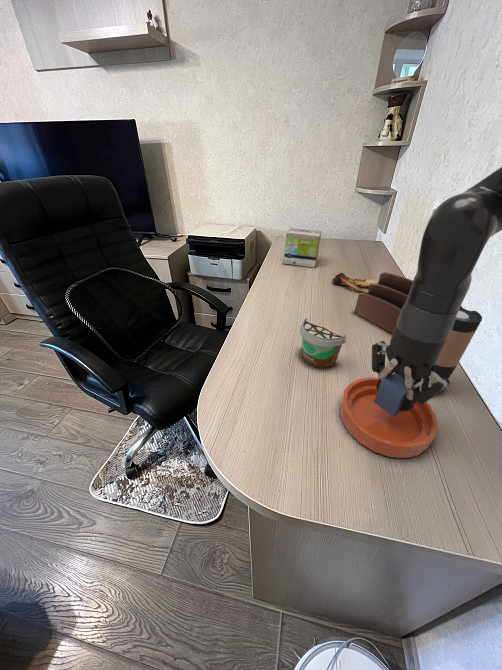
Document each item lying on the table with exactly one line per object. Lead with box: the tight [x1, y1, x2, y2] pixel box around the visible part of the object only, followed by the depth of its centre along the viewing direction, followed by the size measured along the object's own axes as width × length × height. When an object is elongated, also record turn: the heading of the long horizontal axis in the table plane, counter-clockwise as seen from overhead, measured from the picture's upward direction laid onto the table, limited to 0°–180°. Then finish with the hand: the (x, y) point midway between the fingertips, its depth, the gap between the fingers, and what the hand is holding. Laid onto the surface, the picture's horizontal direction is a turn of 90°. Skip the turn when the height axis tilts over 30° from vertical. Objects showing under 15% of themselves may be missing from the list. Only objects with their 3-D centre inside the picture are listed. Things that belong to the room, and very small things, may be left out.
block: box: [374, 373, 406, 417], centre depth 54 cm, size 4×4×6 cm
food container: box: [299, 317, 347, 369], centre depth 71 cm, size 12×6×10 cm, turn 47°
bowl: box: [339, 377, 439, 459], centre depth 57 cm, size 18×18×4 cm
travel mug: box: [421, 305, 483, 393], centre depth 62 cm, size 8×8×20 cm
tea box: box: [283, 227, 322, 268], centre depth 131 cm, size 15×10×15 cm, turn 73°
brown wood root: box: [331, 272, 379, 294], centre depth 111 cm, size 9×5×18 cm
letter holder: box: [353, 271, 414, 335], centre depth 86 cm, size 10×20×14 cm, turn 31°
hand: (392, 400), depth 55 cm, fingers closed on block, 4 cm apart
